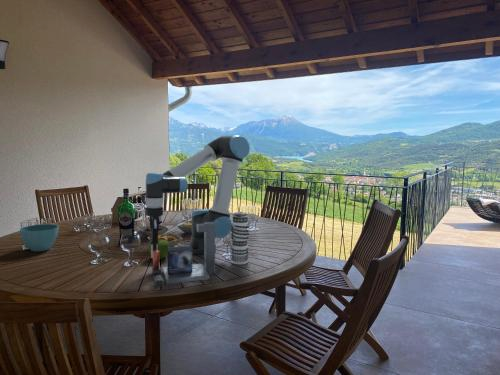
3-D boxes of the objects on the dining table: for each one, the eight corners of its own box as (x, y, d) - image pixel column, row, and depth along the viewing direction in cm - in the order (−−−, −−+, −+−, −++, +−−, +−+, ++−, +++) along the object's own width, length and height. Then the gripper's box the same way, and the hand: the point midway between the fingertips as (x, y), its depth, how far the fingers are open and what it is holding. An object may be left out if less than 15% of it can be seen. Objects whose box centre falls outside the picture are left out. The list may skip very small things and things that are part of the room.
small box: (168, 274, 149) (167, 251, 148) (167, 269, 155) (166, 247, 154) (192, 272, 152) (192, 249, 151) (191, 267, 158) (190, 245, 157)
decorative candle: (252, 261, 174) (253, 212, 171) (238, 265, 168) (238, 215, 165) (240, 257, 181) (241, 210, 178) (226, 261, 175) (227, 212, 172)
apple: (168, 254, 184) (168, 236, 183) (170, 260, 174) (170, 241, 173) (147, 256, 181) (147, 237, 180) (148, 262, 171) (147, 242, 170)
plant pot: (49, 243, 202) (48, 222, 201) (66, 248, 192) (65, 226, 191) (14, 250, 187) (13, 228, 186) (30, 256, 177) (29, 233, 176)
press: (152, 271, 158) (151, 222, 155) (209, 266, 167) (209, 219, 164) (155, 286, 141) (154, 231, 138) (218, 279, 150) (219, 227, 147)
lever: (152, 270, 156) (151, 250, 155) (160, 269, 157) (159, 249, 156) (152, 273, 153) (152, 252, 151) (161, 272, 154) (160, 251, 153)
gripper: (145, 204, 162) (145, 254, 165) (146, 209, 150) (146, 262, 152) (161, 204, 165) (161, 252, 167) (164, 208, 153) (164, 261, 155)
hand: (154, 257), depth 160 cm, fingers closed
